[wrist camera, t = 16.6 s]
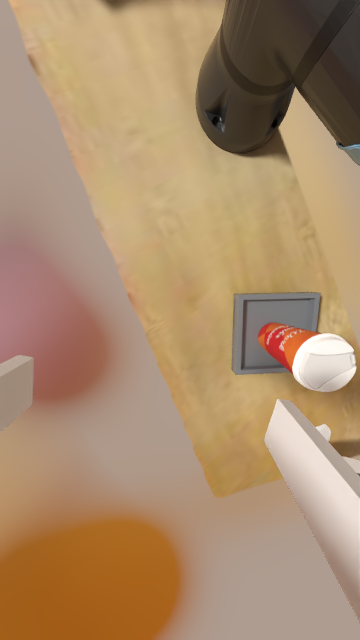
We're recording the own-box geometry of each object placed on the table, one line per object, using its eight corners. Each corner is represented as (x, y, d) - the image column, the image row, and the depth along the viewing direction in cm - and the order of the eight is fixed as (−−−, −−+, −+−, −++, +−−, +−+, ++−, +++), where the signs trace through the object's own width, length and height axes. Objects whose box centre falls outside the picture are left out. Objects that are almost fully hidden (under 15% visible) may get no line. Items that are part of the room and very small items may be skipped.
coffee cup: (287, 311, 40) (357, 327, 25) (294, 349, 41) (364, 385, 27) (247, 323, 40) (293, 347, 25) (256, 360, 41) (304, 403, 27)
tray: (233, 293, 39) (238, 294, 37) (311, 292, 40) (320, 292, 38) (231, 369, 42) (235, 374, 40) (303, 366, 43) (311, 371, 41)
